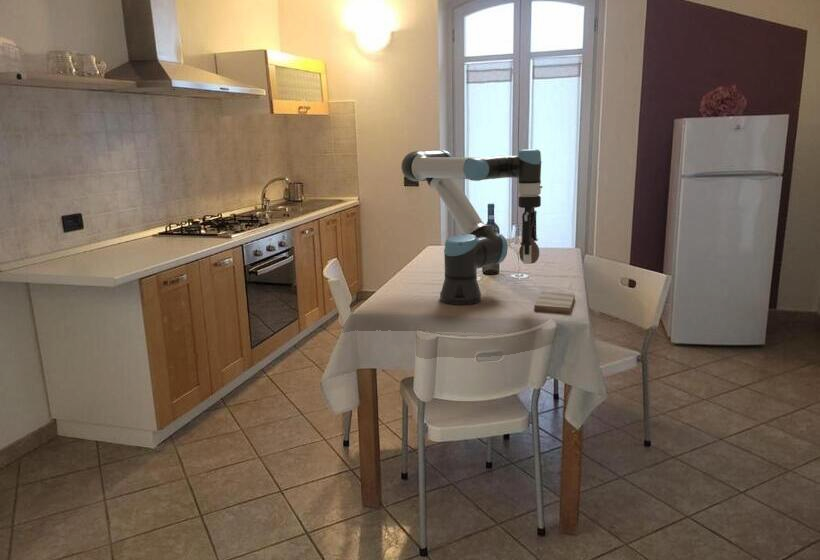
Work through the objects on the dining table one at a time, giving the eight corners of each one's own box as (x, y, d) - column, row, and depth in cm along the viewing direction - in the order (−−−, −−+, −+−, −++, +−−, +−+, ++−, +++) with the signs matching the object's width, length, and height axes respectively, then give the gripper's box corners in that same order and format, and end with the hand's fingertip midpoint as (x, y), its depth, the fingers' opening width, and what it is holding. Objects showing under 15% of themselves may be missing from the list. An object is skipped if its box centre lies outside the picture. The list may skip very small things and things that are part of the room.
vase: (542, 263, 213) (542, 238, 212) (524, 265, 212) (524, 240, 210) (534, 260, 220) (534, 235, 218) (516, 261, 218) (516, 237, 216)
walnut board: (570, 313, 208) (570, 307, 208) (534, 310, 212) (534, 305, 211) (574, 299, 225) (574, 294, 224) (541, 296, 228) (541, 291, 228)
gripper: (535, 198, 201) (535, 267, 206) (545, 192, 218) (544, 256, 223) (512, 198, 203) (512, 266, 208) (524, 192, 221) (524, 256, 226)
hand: (529, 261), depth 216 cm, fingers closed on vase, 7 cm apart
